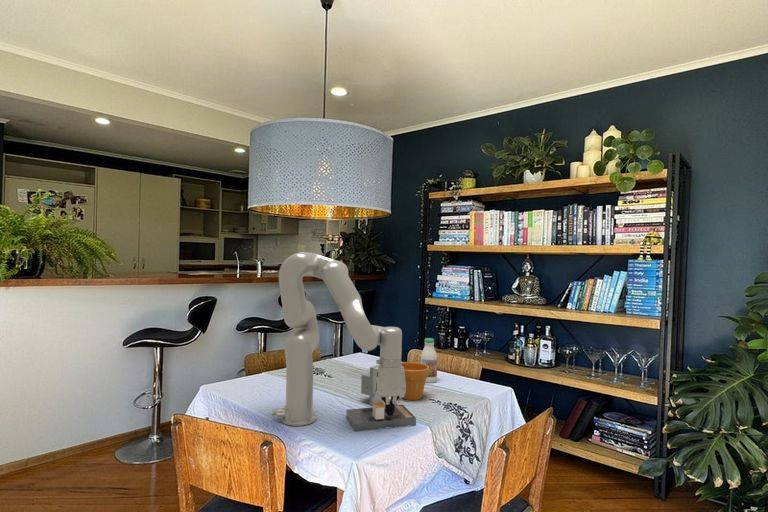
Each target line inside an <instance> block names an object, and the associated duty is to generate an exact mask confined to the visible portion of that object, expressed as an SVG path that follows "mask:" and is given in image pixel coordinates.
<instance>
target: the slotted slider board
mask: <svg viewBox="0 0 768 512" xmlns="http://www.w3.org/2000/svg"><path fill="white" fill-rule="evenodd" d="M345 412H346V413H345V414H346V415H345V416H346V419H347V420H348V422H349V424H350V426H351V428H352V429H353V431H354V432H363V431H371V430H372V429H373V430H380V429H379V428H383V429H387V428H386V427H393V428H396V427H395V426H402V427H409V426H408V425H412V426H417V418H416V416H415V415H414V414H413V413H412V412H411V411H410V410H409V409H408V408H407V407H406V406H405V405H404V404H397V405H395V409H394V412H393V416H391V415H390V416H388V415H387V413H386V412H385V409H384V419H377V420H376V419H375V418H374V416H373V406H370V407H363V408H361V407H360V408H351V409H346V411H345Z"/></svg>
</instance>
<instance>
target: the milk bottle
mask: <svg viewBox="0 0 768 512" xmlns="http://www.w3.org/2000/svg"><path fill="white" fill-rule="evenodd" d="M434 344H435V339H434V338H431V337H426V338H424V346H423V350H422V352H421V356H420V363H422V364H426V365H427V366H429V375H428V377H427V378H426V382H425V384H427V383H428V384H432V383H437V381H438V377H437V376H438V355H437V351H436V349H435V346H434Z"/></svg>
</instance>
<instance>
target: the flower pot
mask: <svg viewBox="0 0 768 512" xmlns="http://www.w3.org/2000/svg"><path fill="white" fill-rule="evenodd" d="M401 365H402V366H403V367H404V372H405V382H406V392H405V396H404V397H402V398H401V399H403V400H406V401H407V400H408V401H418V400H420V399H422V398H423V394H424V389H425V385H426V378H427V377H428V375H429V366H427V365H426V364H422V363H421V362H416V361H408V362H407V361H402V362H401Z"/></svg>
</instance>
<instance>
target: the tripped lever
mask: <svg viewBox="0 0 768 512" xmlns="http://www.w3.org/2000/svg"><path fill="white" fill-rule="evenodd" d="M372 407H373V416H374V418H375V419H376V420H377V419H384V407H385V406H384V404H383V403H382V402H373V406H372Z"/></svg>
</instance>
